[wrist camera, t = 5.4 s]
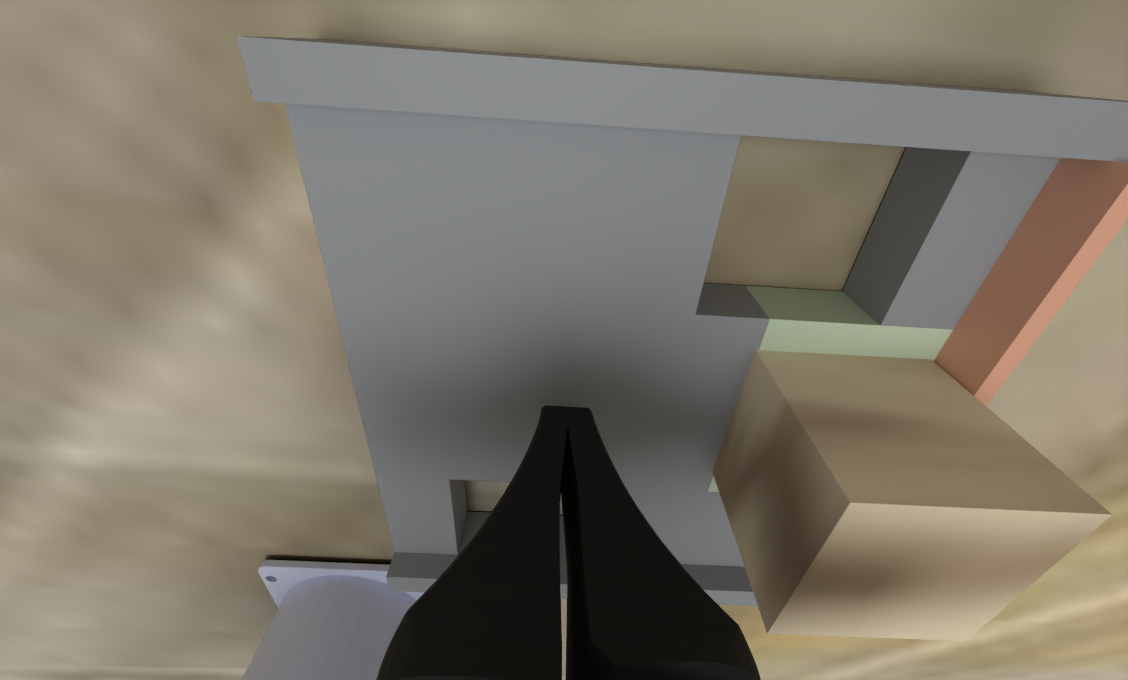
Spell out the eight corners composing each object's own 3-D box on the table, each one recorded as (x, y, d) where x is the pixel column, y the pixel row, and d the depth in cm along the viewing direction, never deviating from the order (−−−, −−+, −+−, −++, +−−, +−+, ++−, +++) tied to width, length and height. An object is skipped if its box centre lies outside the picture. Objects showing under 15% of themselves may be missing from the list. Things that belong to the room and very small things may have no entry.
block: (857, 479, 15) (966, 641, 11) (712, 472, 15) (767, 633, 11) (931, 359, 13) (1112, 514, 8) (755, 350, 12) (850, 502, 8)
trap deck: (786, 539, 21) (823, 621, 18) (412, 522, 20) (385, 604, 17) (1036, 92, 11) (1210, 108, 8) (317, 38, 10) (217, 35, 7)
